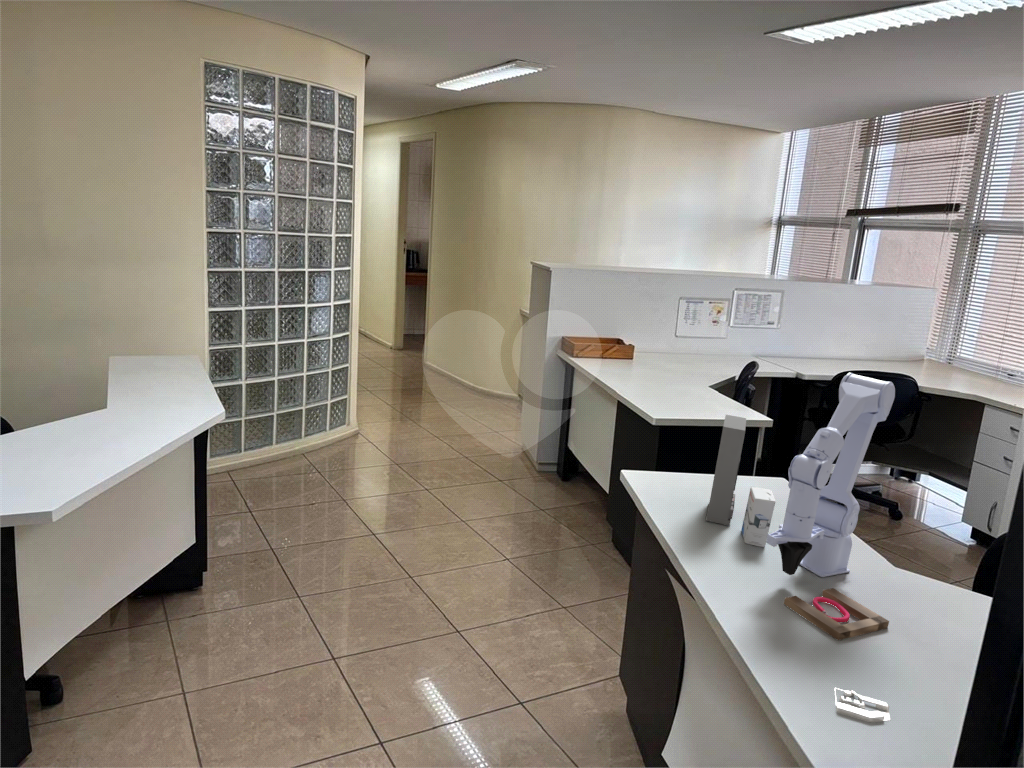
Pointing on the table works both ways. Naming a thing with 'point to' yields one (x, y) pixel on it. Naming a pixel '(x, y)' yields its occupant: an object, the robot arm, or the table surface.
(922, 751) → the table surface
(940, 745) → the table surface
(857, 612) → the notched board
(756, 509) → the ink box
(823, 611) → the fitness band
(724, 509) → the tall grey pillar
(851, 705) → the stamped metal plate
